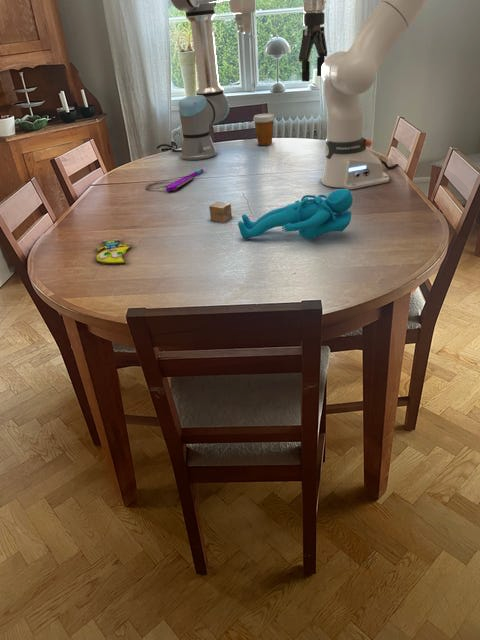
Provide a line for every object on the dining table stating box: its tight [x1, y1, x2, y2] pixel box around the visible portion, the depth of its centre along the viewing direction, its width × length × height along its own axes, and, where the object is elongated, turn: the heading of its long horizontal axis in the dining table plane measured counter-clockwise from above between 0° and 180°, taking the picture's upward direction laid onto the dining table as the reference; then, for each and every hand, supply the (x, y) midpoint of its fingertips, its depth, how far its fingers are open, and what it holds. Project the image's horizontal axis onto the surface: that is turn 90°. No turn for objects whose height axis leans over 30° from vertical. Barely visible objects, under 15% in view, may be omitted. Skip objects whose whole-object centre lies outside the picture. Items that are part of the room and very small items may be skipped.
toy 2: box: [237, 188, 354, 240], centre depth 126 cm, size 17×11×30 cm
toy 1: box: [95, 238, 133, 265], centre depth 129 cm, size 10×1×15 cm
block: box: [209, 201, 233, 224], centre depth 143 cm, size 4×5×4 cm
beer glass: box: [252, 113, 275, 146], centre depth 215 cm, size 10×10×12 cm
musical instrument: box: [145, 168, 205, 192], centre depth 179 cm, size 24×2×20 cm
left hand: (313, 78), depth 182 cm, fingers open, 13 cm apart
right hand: (243, 32), depth 136 cm, fingers open, 8 cm apart
